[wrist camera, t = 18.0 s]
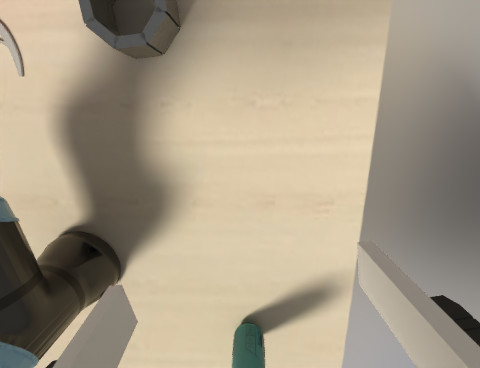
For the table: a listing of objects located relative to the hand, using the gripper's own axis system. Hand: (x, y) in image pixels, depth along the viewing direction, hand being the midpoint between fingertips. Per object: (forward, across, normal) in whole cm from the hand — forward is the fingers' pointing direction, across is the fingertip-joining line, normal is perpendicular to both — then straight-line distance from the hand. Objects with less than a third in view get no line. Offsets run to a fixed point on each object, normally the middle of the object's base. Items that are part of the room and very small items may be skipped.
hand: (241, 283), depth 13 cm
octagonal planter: (+33, -10, +25) cm, 42 cm away
